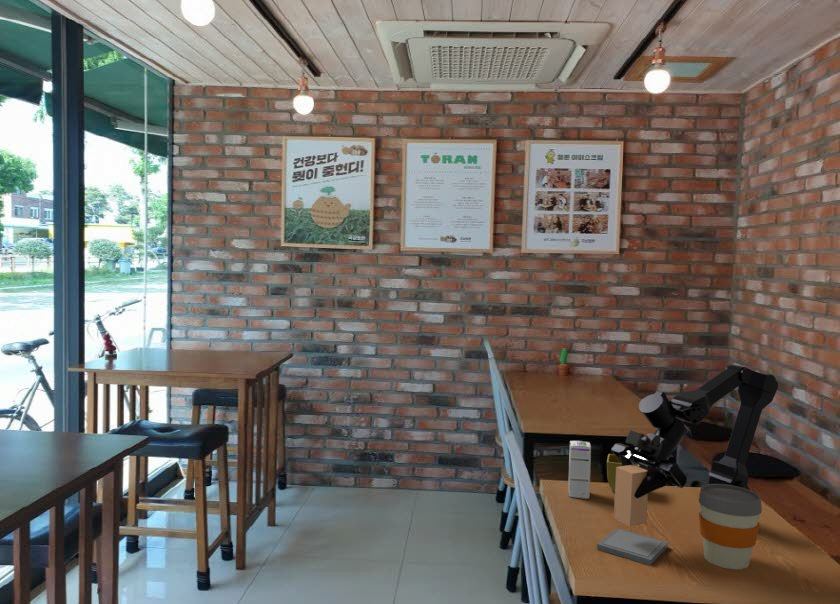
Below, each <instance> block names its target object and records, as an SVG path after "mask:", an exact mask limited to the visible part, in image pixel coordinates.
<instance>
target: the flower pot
mask: <svg viewBox="0 0 840 604" xmlns="http://www.w3.org/2000/svg"><path fill="white" fill-rule="evenodd" d="M620 466H622V463H621V462H620V461H619V460H618V459H617V457H616V456H615V455H614V454H612V453H608V455H607V459H606V474H607V475H606V477H607V482H608V485H609V488H610V489H611V492H614V493H615V483H616V467H620ZM640 466H641V465H639V464H638V465H637V467H640Z"/></svg>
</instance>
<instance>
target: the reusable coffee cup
mask: <svg viewBox="0 0 840 604" xmlns="http://www.w3.org/2000/svg"><path fill="white" fill-rule="evenodd" d="M698 497H699V498H698V503H699V505H700V511H699V513H698V516H699V517H698V520H699V530H700V531H699V532H700V535H701V537H702V543H703V557H704V559H705V560H706V561H707V562H708V563H710V564H713V565H714V566H717V567H720V568H723V569H728V570H744V569H743V568H745V569H747V568H748V567H749V565H750V561H751V556H752V552H753V547H754V546H755V545H756V542H757V540H758V539H757V538H758V534H759V528H760V525H761V524H760V521H759V519H760V515H761V514H762V512H763V511H762V507H763V506H762V497H761V495H759V494H758V493H757V492H755V491H752V490H751V489H750V490H748V489H745V488H741V487H737V486H732V485H725V484H709V483H708V484H704V485H703V486H701V487H700V491H699V496H698ZM746 567H747V568H746Z"/></svg>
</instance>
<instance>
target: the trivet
mask: <svg viewBox="0 0 840 604" xmlns="http://www.w3.org/2000/svg"><path fill="white" fill-rule="evenodd" d="M668 547H669V542H668V541H665V540H661V539H658V538H654V537H650V536H646V535H643V534H639V533H636V532H633V531H629V530H626V529H622V528H617V527H616V528H615V529H613V530H612V531H611V532H610V533H609V534H607V535H606V536H605V537H604V538H603V539H601V540H600V541H599V542H598V543H596V550H598V551H601V552H604V553H608V554H611V555H615V556H618V557H622V558H625V559H628V560H631V561H634V562H638V563H642V564H644V565H648V566H652V565H653V563H655V562H656V560H657V559H658V558H659V557H660V556H661V555H662V554H663V553H664V552H665V551H666V550H667V549H668Z"/></svg>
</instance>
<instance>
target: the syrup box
mask: <svg viewBox="0 0 840 604" xmlns="http://www.w3.org/2000/svg"><path fill="white" fill-rule="evenodd" d="M591 450H592V446H591V442H590V441H583V440H570V441H569V453H568V454H569V457H568V458H569V459H568V485H567V486H568V490H567V491H568V497H570V498H574V499H575V498H576V499H585V500H586V499H590V490H591V469H592V468H591V459H592V458H591V457H592V455H591V453H592V451H591Z"/></svg>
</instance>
